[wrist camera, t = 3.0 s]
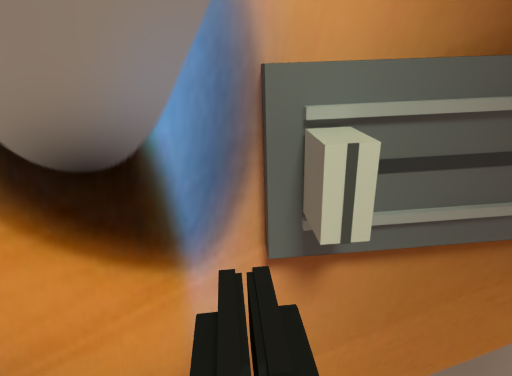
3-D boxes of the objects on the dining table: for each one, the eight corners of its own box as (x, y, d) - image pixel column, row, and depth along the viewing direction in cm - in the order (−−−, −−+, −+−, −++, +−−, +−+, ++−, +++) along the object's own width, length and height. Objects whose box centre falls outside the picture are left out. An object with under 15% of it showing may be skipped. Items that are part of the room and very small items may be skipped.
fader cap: (305, 128, 21) (325, 145, 16) (350, 126, 21) (381, 141, 17) (303, 212, 23) (320, 245, 19) (344, 209, 23) (370, 241, 19)
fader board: (261, 63, 21) (266, 63, 19) (643, 50, 23) (692, 48, 21) (265, 245, 26) (269, 263, 24) (577, 221, 28) (610, 235, 26)
